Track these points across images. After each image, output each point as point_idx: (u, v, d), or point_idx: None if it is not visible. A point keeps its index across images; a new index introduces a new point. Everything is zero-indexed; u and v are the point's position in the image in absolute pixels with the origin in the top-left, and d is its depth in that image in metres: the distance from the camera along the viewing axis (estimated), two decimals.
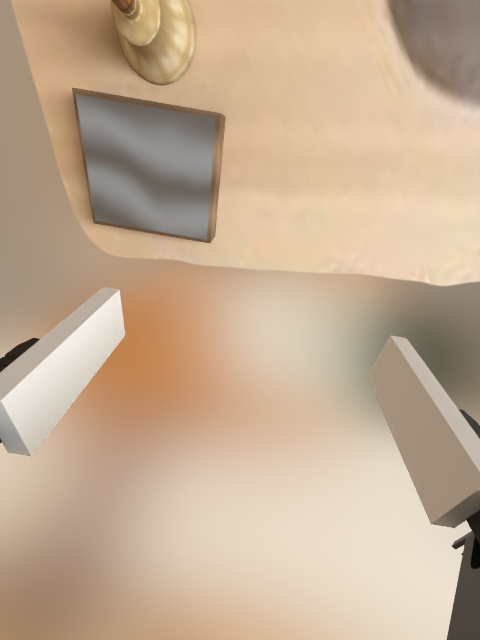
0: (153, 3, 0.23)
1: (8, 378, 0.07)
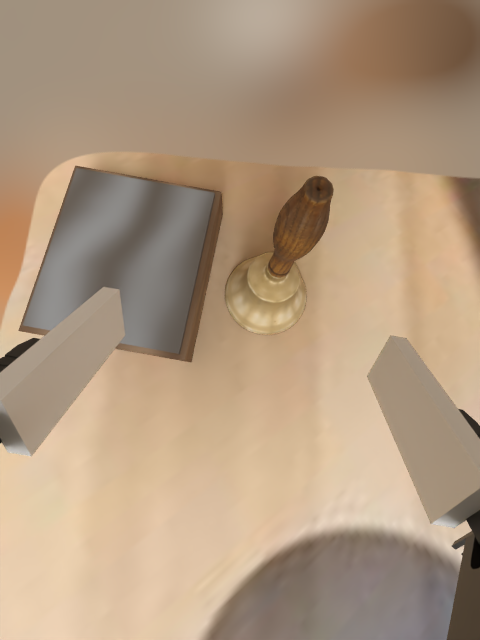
0: (277, 296, 0.21)
1: (8, 378, 0.07)
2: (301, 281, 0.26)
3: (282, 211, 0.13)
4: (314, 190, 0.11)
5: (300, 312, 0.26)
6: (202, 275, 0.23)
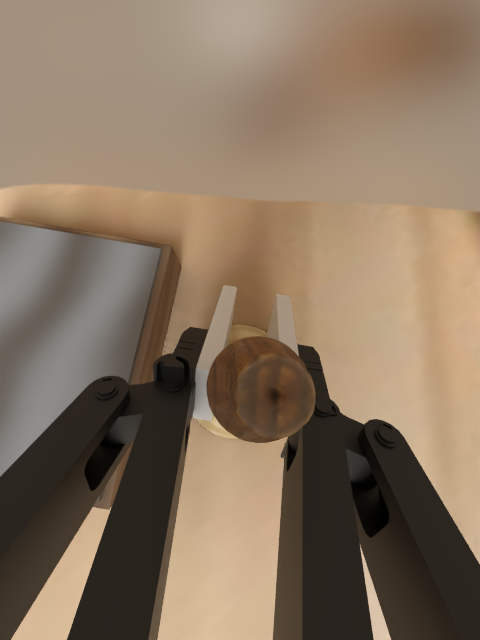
0: None
1: (210, 356, 0.09)
2: None
3: (209, 379, 0.06)
4: (262, 401, 0.04)
5: None
6: (140, 371, 0.16)
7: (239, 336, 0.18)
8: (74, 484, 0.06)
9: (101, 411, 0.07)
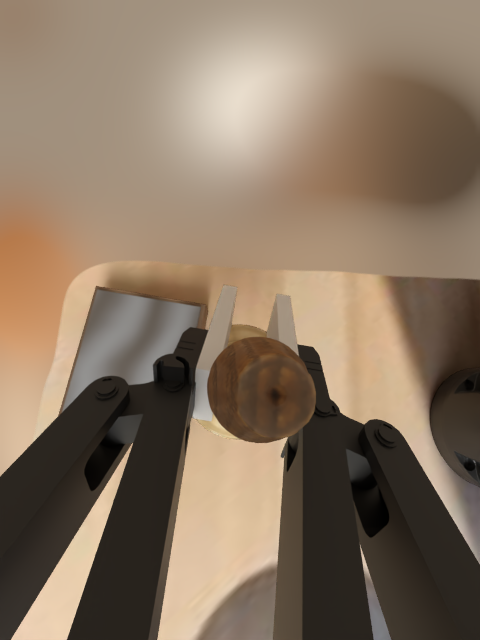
0: None
1: (210, 356, 0.09)
2: None
3: (210, 380, 0.06)
4: (263, 402, 0.04)
5: None
6: None
7: (239, 336, 0.18)
8: (74, 484, 0.06)
9: (101, 411, 0.07)
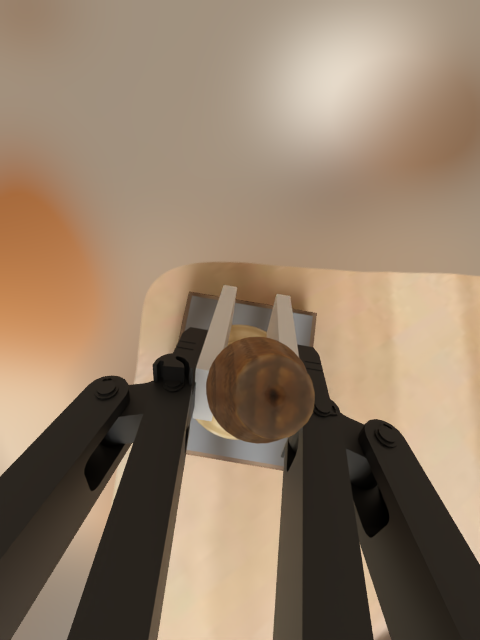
0: None
1: (210, 356, 0.09)
2: None
3: (208, 380, 0.06)
4: (261, 402, 0.04)
5: None
6: None
7: (239, 336, 0.18)
8: (74, 484, 0.06)
9: (101, 411, 0.07)
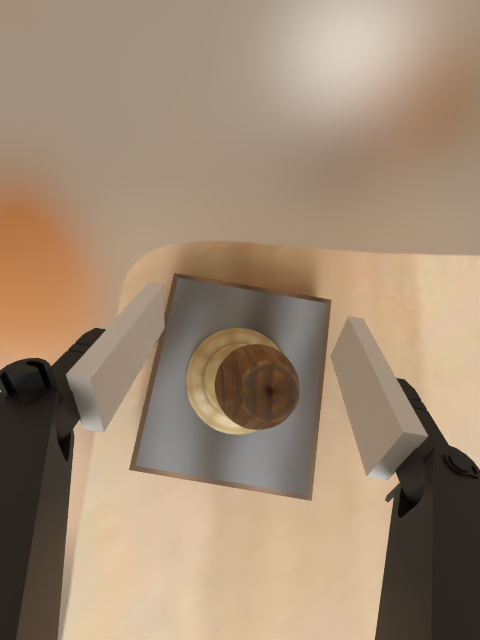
0: None
1: (91, 360, 0.08)
2: None
3: (218, 381, 0.07)
4: (261, 396, 0.05)
5: None
6: (320, 397, 0.21)
7: (237, 339, 0.20)
8: None
9: None
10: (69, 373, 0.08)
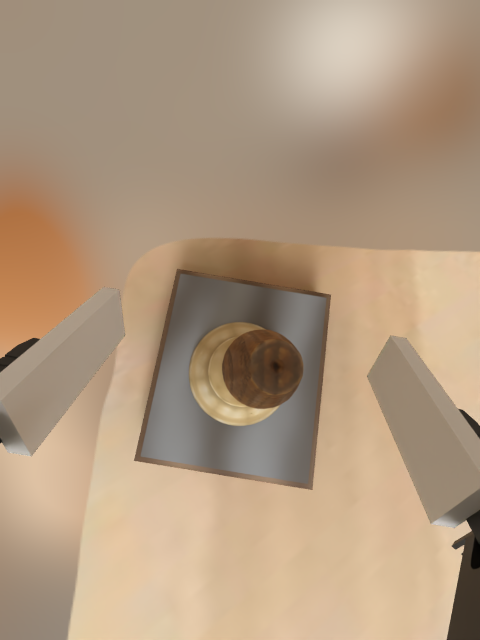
0: None
1: (8, 378, 0.07)
2: None
3: (225, 363, 0.08)
4: (268, 371, 0.06)
5: None
6: (320, 390, 0.22)
7: (239, 332, 0.20)
8: None
9: None
10: None
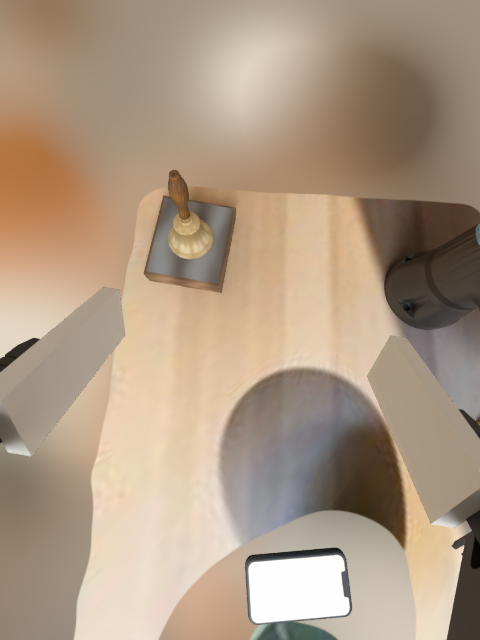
0: (187, 231, 0.42)
1: (8, 378, 0.07)
2: (209, 230, 0.48)
3: (168, 184, 0.35)
4: (172, 174, 0.33)
5: (208, 246, 0.47)
6: (227, 248, 0.49)
7: None
8: None
9: None
10: None
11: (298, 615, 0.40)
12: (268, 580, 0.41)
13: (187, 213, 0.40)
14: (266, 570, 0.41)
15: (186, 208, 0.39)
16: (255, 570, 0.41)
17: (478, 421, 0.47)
